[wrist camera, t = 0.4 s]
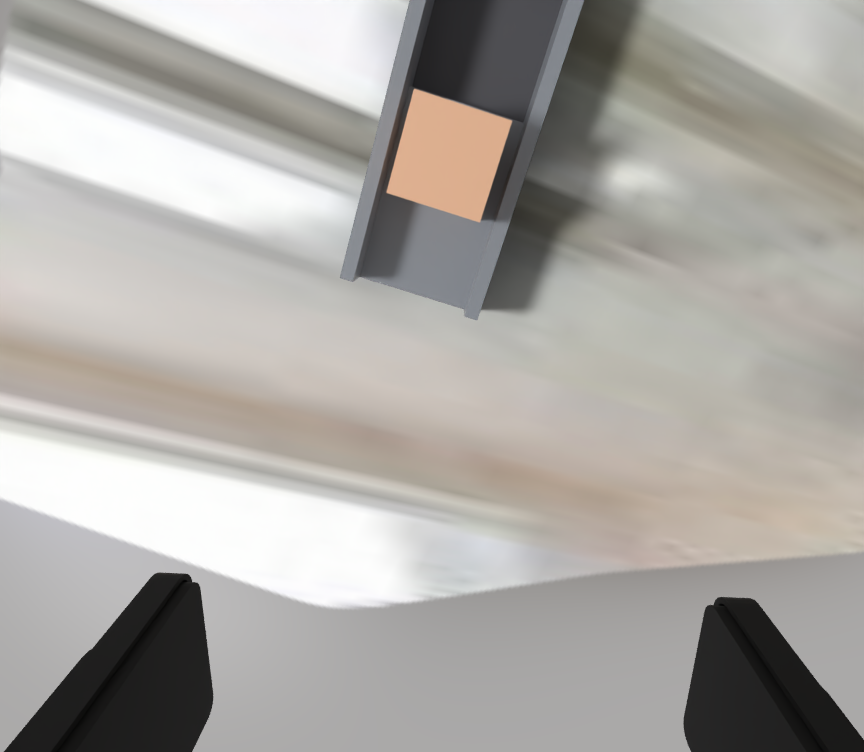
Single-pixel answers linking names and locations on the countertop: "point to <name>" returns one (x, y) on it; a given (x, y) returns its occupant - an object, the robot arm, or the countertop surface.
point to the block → (448, 155)
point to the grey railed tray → (475, 87)
